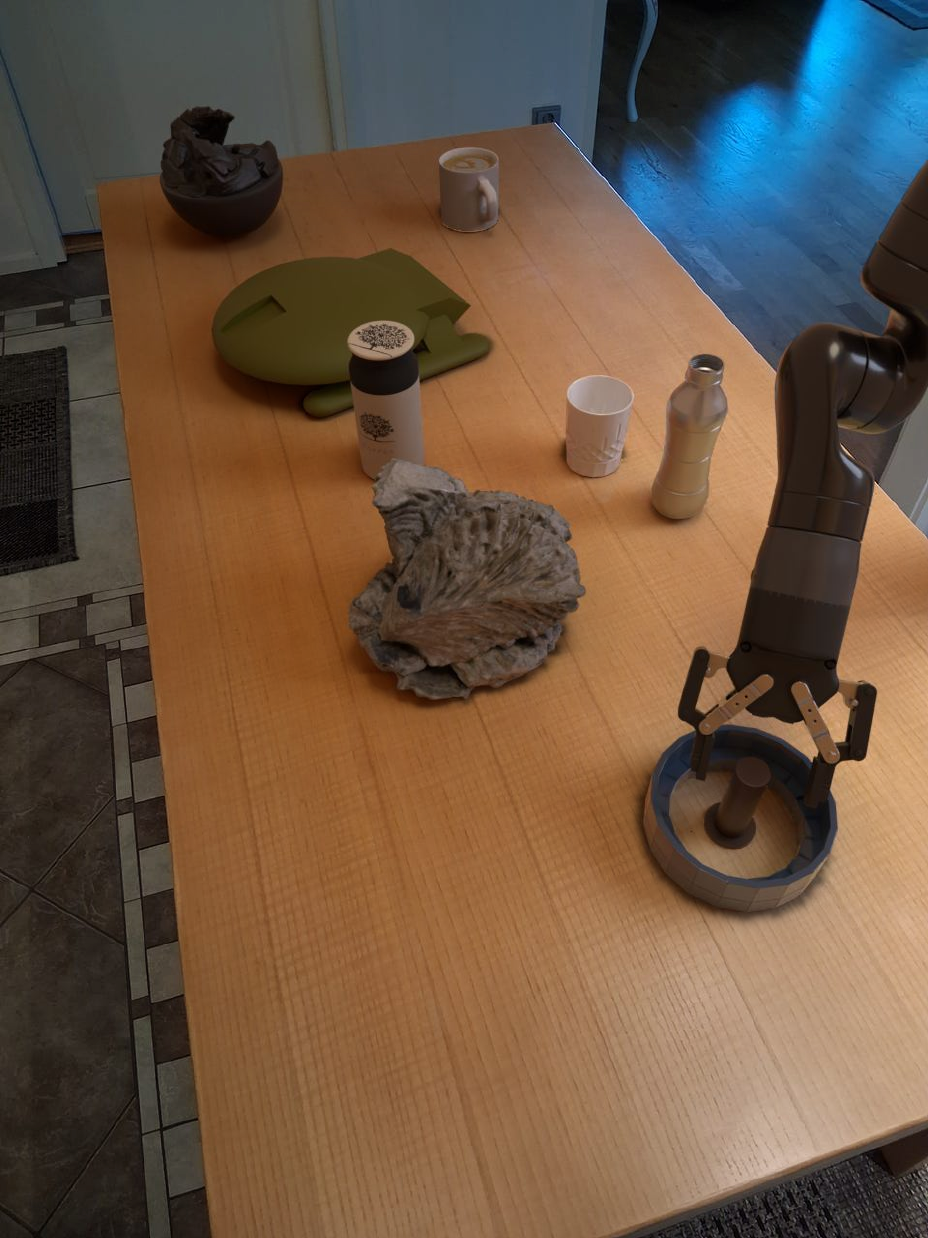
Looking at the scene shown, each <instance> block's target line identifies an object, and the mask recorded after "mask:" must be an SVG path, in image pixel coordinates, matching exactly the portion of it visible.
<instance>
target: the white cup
mask: <svg viewBox="0 0 928 1238" xmlns="http://www.w3.org/2000/svg"><path fill="white" fill-rule="evenodd" d="M634 400H635V394H634V390H633V388H631V386H630V385H629V384H628V383H626V382H625V381H623V380H622V379H619V378H616V377H614V376H610V375H604V374H603V375H601V374H595V375H594V374H593V375H587V376H586V375H585V376H582V377H580V378H578V379H576V380H574V381H573V382H571V384H570V385H569V386H568V388H567V390H566V402H565V403H566V404H565V405H566V407H565V445H566V455H565V456H566V464H567V466H568V467H569V468H570V469H571V471H572V472H574V473H576V474H578V475H580V476H582V477H588V478H600V477H606V476H608V475H610V474H612V473H614V472H615V471H616V470H617V469H618V467H619V466H620V464H621V459H622V453H623V449H624V446H625V444H626V443H625V442H626V437H627V434H628V430H629V426H630V425H629V424H630V420H631V415H632V411H633V410H632V409H633V404H634Z"/></svg>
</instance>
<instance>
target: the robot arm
mask: <svg viewBox="0 0 928 1238" xmlns="http://www.w3.org/2000/svg"><path fill="white" fill-rule="evenodd" d="M859 276H860V278H859V279H860V284H861V286H862V288H863V289H864V291H865V292H866V293H867V294H868V295H869V296H870V297H871V298H873V299H874V300H876V301H877V302H878V303H880V304H882V305H883V306H885V307H886V308H888V309H889V311H888V317H887V321H886V323H885V327H884V329H883V331H882V332H881V333H880V335H877V334H874V333H871V332H868V331H867V332H866V331H863V330H860V329H856V328H853V327H851V326H846V325H843V324H839V323H835V322H827V321H826V322H825V321H821V322H820V321H819V322H817V323H813V324H810V325H808V326H806V327H805V328H803V329H802V330H800V331H799V332H798V333H796V335H795V336H794V337H793V338H792V339H791V341H790V342H789V343H788V344H787V345H786V348H785V350H784V351H783V354H782V355H781V357H780V360H779V363H778V366H777V369H776V373H775V381H774V412H775V432H776V459H777V477H776V478H777V480H776V484H775V488H774V493H773V496H772V497H773V498H772V501H771V506H770V510H769V516H768V520H767V524H766V525H767V527H766V528H765V532H764V535H763V538H762V540H761V543H760V546H759V549H758V551H757V554H756V557H755V563H754V567H753V569H752V570H751V573H750V583H749V588H748V593H747V597H746V603H745V606H744V611H743V616H742V620H741V624H740V629H739V634H738V638H737V642H736V645H735V648H734V650H733V651H732V652H731V653H730V654H729V655H725V654H722V653H719V652H714V651H711V650H708V648H707V647H706V646H701V645H700V646H697V647H696V648H695V649H694V650H693V653H692V656H691V660H690V663H689V667H688V671H687V673H686V678H685V681H684V684H683V688H682V691H681V695H680V699H679V702H678V706H677V717H678V719H679V720H680V721H681V722H684V723H686V724H688V725H689V726H691V727H692V728H693V729H694V731H695V730H696V735H695V739H694V744H693V748H692V753H691V757H690V767H691V771H694V772H696V776H695V780H696V781H701V782H706V779H707V775H708V772H707V770H708V766H709V761H710V757H711V753H712V748H713V744H714V739H715V737H714V733H713V732H714V731H715V730H716V729H718V728H719V727H720V726H721V725H725V723H726V722H728V721H729V720H731V719H733V718H735V717H736V716H737V715H739V714H740V713H741V712H742V711H743V710H745V711H746V712H748V713H750V714H751V715H752V716H753V717H757V718H762V719H763V718H774V719H776V720H778V721H780V722H782V723H785V724H789V725H795V724H796V723H801V722H803V723H804V725H805V727H806V729H807V731H808V733H809V735H810V737H811V738H812V741H813V743H814V745H815V747H816V749H817V751H818V752H817V756H815V755H814V756H813V757H812V761H811V762H812V766H811V770H810V774H809V779H808V783H807V787H806V791H805V796H804V803H805V805H806V806H807V807H811V808H815V809H816V808H817V805H818V802H822V803H824V802H825V801H826V800H827V798H828V796H829V792H830V791H831V787H832V783H833V780H834V779H833V778H834V774H835V771H836V767H837V766H838V765H839V764H840V763H841V762H848V761H854V762H862V761H864V760H865V759H866V757H867V755H868V749H869V742H870V738H871V737H870V736H871V733H872V732H871V731H872V726H873V719H874V714H875V707H876V703H877V702H876V701H877V697H878V689H877V688H876V686H874V685H873V684H872V683H871V682H869V681H866V680H863V679H862V680H858V681H853V680H846V679H841V678H839V676H838V671H837V667H838V661H839V659H840V658H839V657H840V653H841V649H842V644H843V641H844V636H845V633H846V627H847V623H848V619H849V615H850V611H851V606H852V604H853V603H852V602H853V598H854V595H855V591H856V590H855V589H856V585H857V581H858V576H859V571H860V562H861V561H860V559H861V550H862V545H863V543H862V542H863V540H864V537H865V532H866V528H867V523H868V518H869V516H870V515H869V514H870V511H871V506H872V502H873V497H874V492H875V485H876V483H875V481H876V480H875V474H874V472H873V471H872V469H871V468H869V467H868V466H867V465H866V464H864V463H862V462H861V461H859V460H857V459H855V458H854V457H852V456H851V455H849V454H848V453H847V452H846V451H845V450H844V448H843V446H842V445H841V444H842V443H841V439H840V432H839V428H842V429H845V430H850V431H853V432H857V433H862V434H867V435H878V434H883V433H886V432H888V431H890V430H893V429H894V428H896V427H897V426H899V425H900V424H902V423H903V422H904V421H906V420H907V419H908V418H909V417H910V416H911V415H912V414H913V413H914V412H915V410H916V409H917V408H918V407H919V406H920V403H921V402H922V400H923V398H924V396H925V395H926V392H927V390H928V158H927V159H926V161H925V162H924V163H923V165H921V167H920V168H919V170H918V171H917V173H916V174H915V176H914V177H913V179H912V180H911V182H910V183H909V185H908V186H907V188H906V190H905V192H904V193H903V195H902V196H901V197H900V200H899V201H898V204H897V205H896V206H895V209H894V210H893V212H892V213H891V216H890V217H889V219H888V220H887V222H886V224H885V226H884V227H883V229H882V231H881V232H880V234H879V235H878V238H877V240H876V241H875V243H874V244H873V246H872V247H871V249H870V251H869V253H868V255H867V257H866V258H865V261H864V263H863V264H862V267H861V270H860V275H859ZM721 669H725V670H726V672H727V675H728V677H729V679H730V681H731V684H732V685H733V689H731V690H730V691H729V692H728V693H726V694H725V695H724V696H723V697H721V698H720V699H719V700H718V701H717V702H716V703H715V704H714V705H713V706H712V707H710V708H709V709H708V710H707V711H705V712H703V711H701V710H699V709H698V708H696V707H697V705H698V701H699V697H700V694H701V691H702V687H703V683H704V679H705V678H706V679H712V678H713V677H714V676H716V674H717V672H718V671H719V670H721ZM837 693H839V694H841V696H842V702H843V704H844V706H845V707H847V708H848V709H849V713H848V714H849V715H848V720H847V726H846V732H845V737H844V741H834V739H833V737H832V735H831V733H830V730H829V727H828V726H827V724H826V722H825V719H824V718H823V716H822V713H821V711H820V710H819V709H820V708H822V706H824V704H826V703H827V702H829V701H830V700H831V699H832V698H833V697H834V696H836V694H837Z"/></svg>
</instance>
